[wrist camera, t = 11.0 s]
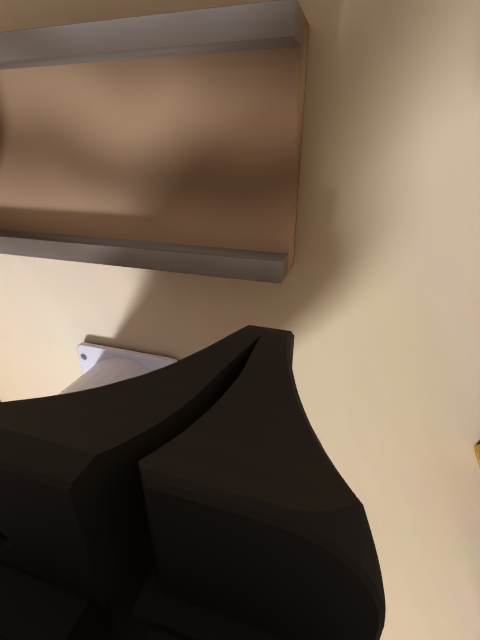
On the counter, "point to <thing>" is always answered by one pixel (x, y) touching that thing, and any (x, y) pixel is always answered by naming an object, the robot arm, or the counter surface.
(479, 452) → the candy box
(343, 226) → the counter surface
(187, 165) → the guide track
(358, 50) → the counter surface
